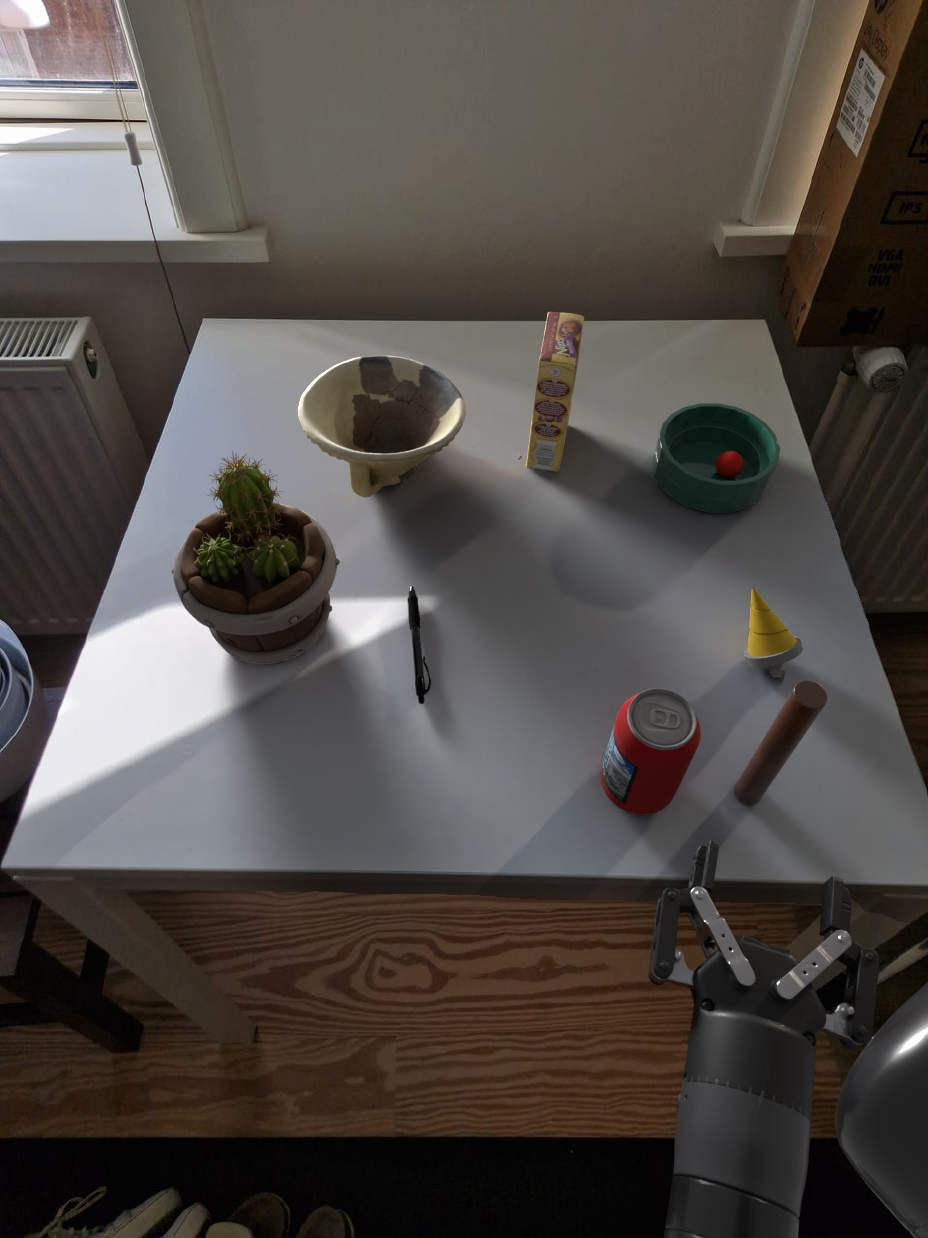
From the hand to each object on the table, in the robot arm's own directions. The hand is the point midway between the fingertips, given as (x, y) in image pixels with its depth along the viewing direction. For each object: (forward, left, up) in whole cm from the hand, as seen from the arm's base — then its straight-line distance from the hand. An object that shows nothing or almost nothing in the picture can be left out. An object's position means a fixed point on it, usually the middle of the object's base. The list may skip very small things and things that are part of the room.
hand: (771, 862), depth 61 cm
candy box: (+28, -49, -11) cm, 57 cm away
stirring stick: (0, -11, -11) cm, 15 cm away
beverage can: (+10, -9, -11) cm, 17 cm away
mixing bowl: (+9, -50, -11) cm, 52 cm away
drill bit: (+1, -26, -11) cm, 28 cm away
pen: (+33, -17, -11) cm, 39 cm away
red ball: (+7, -50, -9) cm, 51 cm away
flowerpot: (+48, -15, -11) cm, 51 cm away
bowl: (+45, -40, -11) cm, 61 cm away
